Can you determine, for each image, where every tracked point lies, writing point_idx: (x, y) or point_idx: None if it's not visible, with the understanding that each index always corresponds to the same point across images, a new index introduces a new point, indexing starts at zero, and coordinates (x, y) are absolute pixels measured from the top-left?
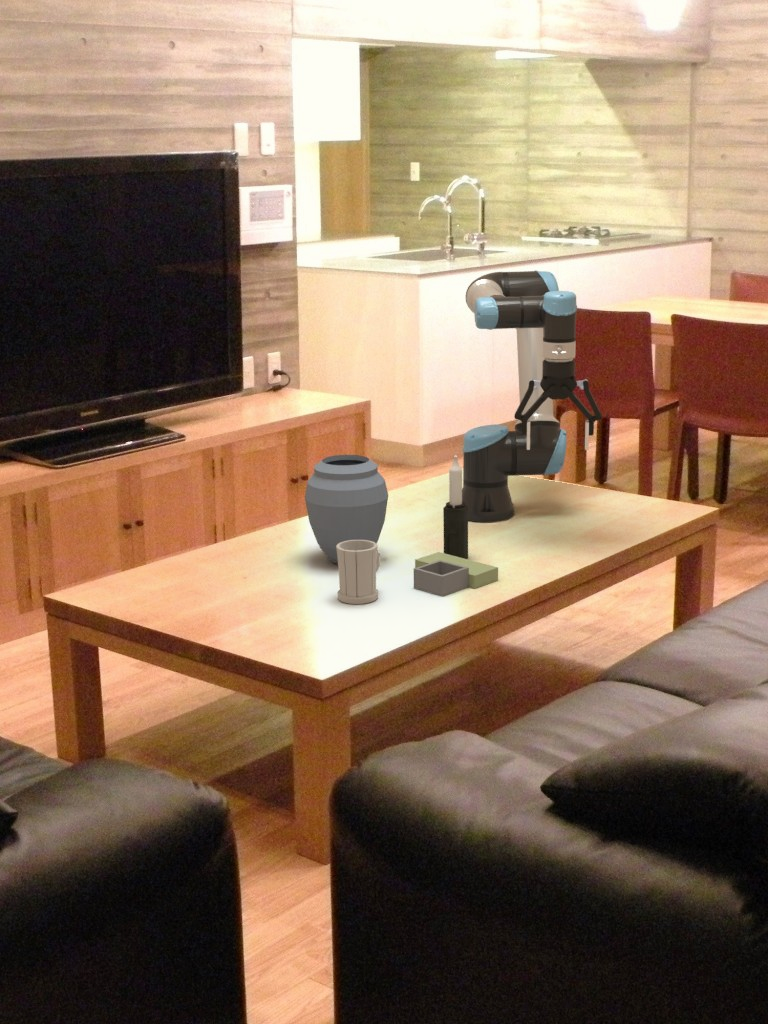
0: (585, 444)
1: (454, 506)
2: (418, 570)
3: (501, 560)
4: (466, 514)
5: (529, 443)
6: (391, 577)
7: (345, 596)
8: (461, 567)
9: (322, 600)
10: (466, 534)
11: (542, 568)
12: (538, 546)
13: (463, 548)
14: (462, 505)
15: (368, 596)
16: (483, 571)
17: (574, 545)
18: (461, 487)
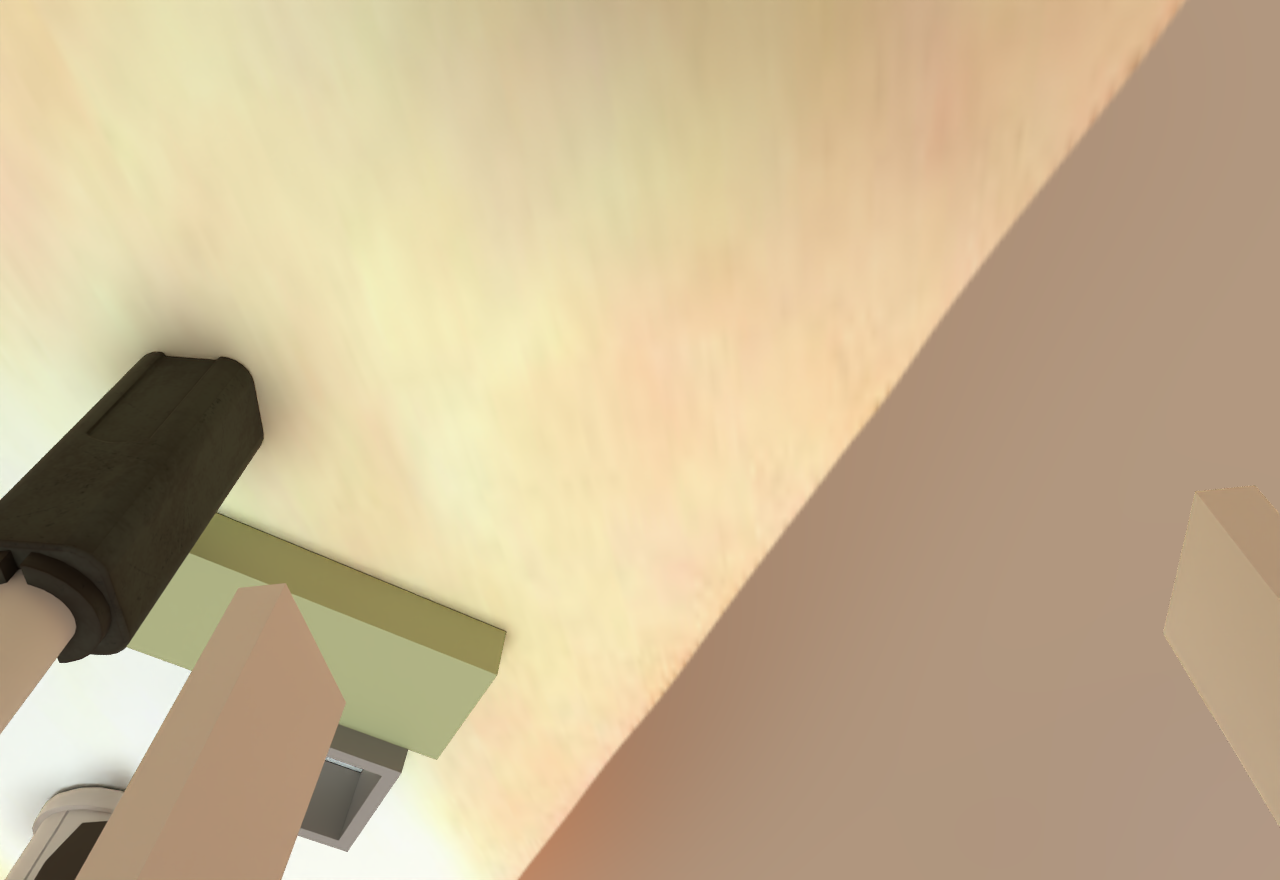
0: (1210, 707)
1: (61, 662)
2: None
3: (435, 391)
4: (141, 566)
5: (309, 780)
6: (85, 658)
7: None
8: (371, 770)
9: (25, 847)
10: (201, 485)
11: (665, 470)
12: (573, 86)
13: (234, 484)
14: (98, 643)
15: None
16: (453, 719)
17: (811, 9)
18: (1, 720)
